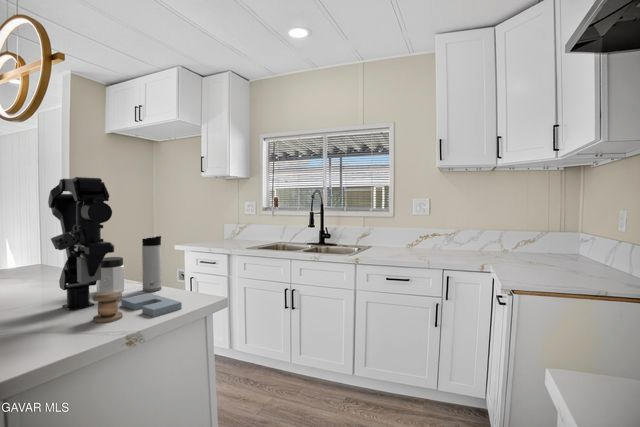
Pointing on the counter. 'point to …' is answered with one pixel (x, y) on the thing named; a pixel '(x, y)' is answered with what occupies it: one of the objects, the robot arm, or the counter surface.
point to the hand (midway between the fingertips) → (89, 275)
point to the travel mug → (151, 264)
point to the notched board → (151, 304)
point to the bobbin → (107, 307)
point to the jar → (111, 275)
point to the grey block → (86, 271)
